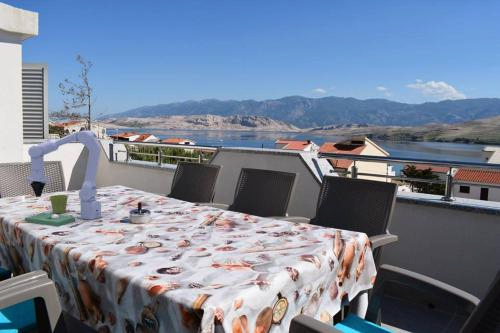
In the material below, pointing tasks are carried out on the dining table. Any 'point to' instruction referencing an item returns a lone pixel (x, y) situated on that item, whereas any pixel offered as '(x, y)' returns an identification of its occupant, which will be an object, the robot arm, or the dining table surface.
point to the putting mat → (47, 220)
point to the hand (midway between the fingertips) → (38, 196)
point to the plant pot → (59, 203)
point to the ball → (55, 216)
